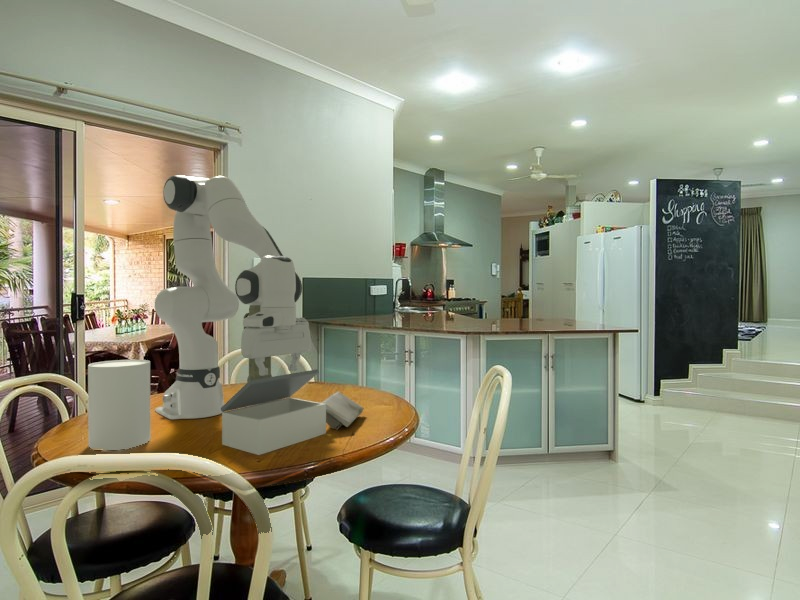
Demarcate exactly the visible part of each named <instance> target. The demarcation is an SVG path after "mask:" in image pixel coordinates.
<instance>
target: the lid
mask: <svg viewBox="0 0 800 600" xmlns="http://www.w3.org/2000/svg"><path fill="white" fill-rule="evenodd" d="M319 372H320V371H319V370H318V369H311V370H305V371H299V372H293V373H287V374H282V375H281V374H280V375H276V376H275V375H274V376H272V377H268V378H262V379H256V380H250V381H249V382H248V383H245V384H244V385H243V386H242V387H241V388H240V389H239V390H238V391H237V392H236V393H235V394H234V395H232V397H231V398H230V399H229V400H227V401H226V402H225V403H224V404H225V405H223V406H222V407H221V411H222V412H226V411H230V410H235V409H240V408H244V407H249V406H253V405H258V404H263V403H267V402H272V401H276V400H281V399H286V398H292V396H293V395H294V394H296V393H297V392H298V391H299V390H301V389H302V388H303V387H304V386H305V385H306V384H307V383H309V381H311V380H312V379H313V378H314V377H316V376H317V375H318V374H319Z"/></svg>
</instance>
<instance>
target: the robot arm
mask: <svg viewBox="0 0 800 600" xmlns="http://www.w3.org/2000/svg"><path fill="white" fill-rule="evenodd" d="M162 191H163V193H162V194H163V201H164V203H165V204H166V206H167V207H168V208H169V209H170V210H173V211H175V212H176V213H175V214H174V218H173V230H172V231H173V233H172V234H173V235H172V237H173V249H174V252H173V253H174V259H175V260H174V261H175V267H176V269H177V270H178V272H179V273H181V274H182V275H183V276H186V277H187V278H188V279H189V280H190V282H191V283H192V285H193V286H181V285H180V286H174V287H173V286H172V287H168V288H164V289H161V290H160V291H159V292H158V293H157V295H156V298H155V300H154V311H155V313H156V315H157V317H158V318H159V319H160V320H161V321H162V322H164V323H166V325H167V326H169V327H170V329H171V330H172V332H173V333H174V335H175V338H176V340H177V346H178V354H179V356H178V357H179V367H178V369H175V371H176V372H175V374H176V377H175V381H174V383H173V384H171V386H169V388H167V389H166V390H165V391H164V394H163V395H162V402H163V405H161V406H158V407H156V408H155V409H154V412H155V413H157V414H159V415H161V416H163V417H165V418H167V419H168V420H180V419H181V420H182V419H187V420H188V419H189V420H190V419H202V418H209V417H214V416H217V415H222V411H221V407H222V406H223V405H225V404H226V403H225V401H224V400H225V398H224V390H223V384H222V382H221V381H220V380H219V379H220V378H221V368H220V366H219V344H218V341H217V340H216V339H215V338H214V337H213V336H212V335H210V334H208V333H206V332H205V330H204V328H203V323H211V322H212V323H214V322H221V321H225V320H228V319H232V318H233V317H235V316H236V314H237V313H238V310H239V306H240V304H239V303H240V302H241V303H242V304H243V305H247V306H248V305H249V306H250V305H261V306H260V312H258V313H256V314H253V315H251V316H248V317H246V318H244V317H243V320H242V326H243V331H242V333H241V338H240V339H241V340H240V342H241V343H240V353H241V355H242V356H243V358H244V359H249V358H250V359H254V358H255V363H256V365H257V366H258V368H259V375H261V376H264V375H268V368H265V366H264V364H263V362H265V357H270V356H271V357H276V356H283V355H284V356H285V355H290V357H291V361H290V363H287V368H288V371H289V372H294V371H297V369H298V363H299V361H300V359H301V353H308V352H310V350H312V338H311V337H312V336H311V330H310V324H309V321H308V320H307V319H306V318H305V317H297V305H296V303H297V302H298V300H299V299H300V298H301V295H302V292H303V283H302V281H301V279H300V277H299V275H298V273H296V269H295V265H294V261H293V260H292V259H291V258H290V257H288V256H284V254H283V253H282V251H281V250H280V248H279V247H278V245H277V243H276V241H275V240H274V239H273V237H272V235H271V233H270V232H269V231H268V229H266V227H264V226H263V225H262V224H261V223H260V222H259V221H258V220H257V219H256V217H255V216H254V215H253V214H252V212H251V211H250V209H249V207H248V205H247V203H246V200H245V198H244V197H243V195H242V193H241V191H240V190H239V189H238V187H237V186H236V184H235V183H234V181H233V180H232V179H230V178H229V177H227V176H224V175H223V176H222V175H218V176H213V177H211V178H208V177H199V176H198V177H195V176H186V175H182V174H179V175H176V174H175V175H172V176H170V177H169V178H168V179H167V180H166V181H165V183H164V186H163V190H162ZM211 227H212V229H213V231H214V232H215V234H217V236H218V237H219V238H221V239H223V240H225V241H227V242H230V243H232V244H236V245H239V246H241V247H244V248H246V249H248V250H251V251H252V252H254V253H255V254H256V255H257V256H258V257H259V258H260V262H259V263H258V264H256V265H254V266H252V267H251V268H249V269H244V270H242V271H241V272H240V273H239V274H238V276H237V278H236V280H235V285H234V286H235V288H234V289H235V291H234V290H233V289H232V288H230V287H229V286H228V285H226V283H225V282H224V281H223V279H222V278H221V276H220V274H219V272H218V270H217V265H216V263H215V256H214V248H213V247H214V246H213V237H212V231H211ZM239 301H240V302H239ZM244 327H247V328H245V329H244Z"/></svg>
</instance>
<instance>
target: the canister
mask: <svg viewBox="0 0 800 600" xmlns="http://www.w3.org/2000/svg"><path fill="white" fill-rule="evenodd" d="M87 384H88V385H87V395H88V396H87V398H88V399H87V400H88V401H87V404H88V406H87V407H88V410H87V411H88V413H87V414H88V416H87V417H88V419H87V421H88V424H87V426H88V435H87V436H88V448H89V447H90V448H92V449H103V450H118V451H121V450H120V449H125V450H129V448H131V449H133V448H132V447H135V448H137V447H136V446H138V447H140V446H139V445H141V446H143V445H142V444H144V445H145V443H146V444H147V443H149V442H150V441H151V437H152V436H151V435H152V433H151V361H150V360H148V359H147V360H146V359H119V360H118V359H115V360H104V361H98V362H92V363H91V362H90V363H88V365H87ZM148 441H149V442H148Z"/></svg>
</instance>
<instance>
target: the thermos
mask: <svg viewBox="0 0 800 600" xmlns="http://www.w3.org/2000/svg"><path fill="white" fill-rule="evenodd" d="M260 306H261V305H249V308H248V312H246V313H245V315H244V316H243V319H244V318H246V317H249V316H251V315H253V314H256V313H258V312H260ZM245 328H247V327H244V326H243V330H244V329H245ZM263 364H264V366H265V368H268V375H264V376H261V375H259V368H258V366H257V365H256V363H255V358H254V359H250V358H248V377H247V380H246V381H247V383H248V382H249V381H250V380H256V379H262V378H268V377H273V375H272V356H270V357H265V362H263ZM247 383H246V384H247Z"/></svg>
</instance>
